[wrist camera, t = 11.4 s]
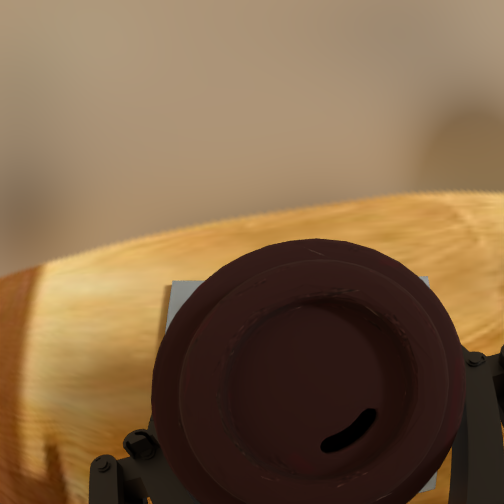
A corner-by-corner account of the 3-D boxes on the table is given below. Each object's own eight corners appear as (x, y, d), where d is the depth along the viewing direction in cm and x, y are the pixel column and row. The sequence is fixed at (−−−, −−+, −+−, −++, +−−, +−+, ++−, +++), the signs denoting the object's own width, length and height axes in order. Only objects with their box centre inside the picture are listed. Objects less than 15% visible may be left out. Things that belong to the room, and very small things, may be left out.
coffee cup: (233, 332, 22) (148, 219, 9) (365, 326, 21) (457, 205, 8) (230, 461, 18) (124, 540, 5) (370, 455, 16) (488, 519, 3)
